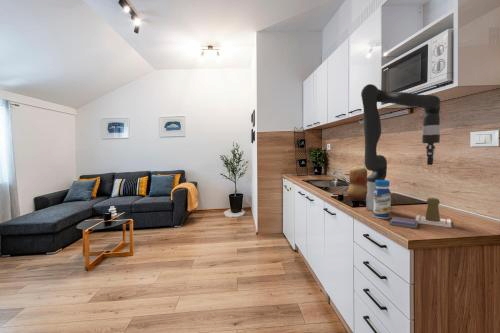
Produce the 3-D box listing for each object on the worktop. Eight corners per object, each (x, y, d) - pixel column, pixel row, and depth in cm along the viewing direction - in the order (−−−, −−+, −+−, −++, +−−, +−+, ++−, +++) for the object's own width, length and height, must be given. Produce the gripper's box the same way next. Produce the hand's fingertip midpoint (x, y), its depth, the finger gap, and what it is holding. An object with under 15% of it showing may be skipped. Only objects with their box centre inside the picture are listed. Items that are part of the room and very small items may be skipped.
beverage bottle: (389, 215, 133) (389, 179, 132) (392, 219, 125) (392, 181, 124) (372, 214, 136) (372, 179, 135) (373, 218, 128) (374, 181, 127)
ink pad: (389, 224, 117) (389, 220, 117) (392, 219, 125) (392, 216, 125) (416, 228, 110) (416, 224, 110) (418, 223, 118) (418, 219, 118)
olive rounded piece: (423, 220, 120) (424, 198, 120) (426, 217, 125) (427, 196, 124) (439, 222, 116) (439, 199, 115) (441, 219, 120) (441, 198, 119)
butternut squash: (349, 203, 165) (349, 167, 164) (345, 199, 178) (346, 165, 177) (371, 203, 162) (371, 167, 161) (366, 199, 175) (366, 165, 174)
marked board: (414, 222, 120) (414, 220, 120) (416, 217, 129) (416, 215, 129) (451, 227, 111) (451, 225, 111) (450, 221, 120) (450, 219, 120)
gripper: (423, 135, 137) (422, 163, 138) (421, 134, 126) (420, 165, 127) (440, 134, 132) (439, 163, 133) (439, 133, 121) (438, 165, 122)
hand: (430, 164), depth 130 cm, fingers open, 8 cm apart
